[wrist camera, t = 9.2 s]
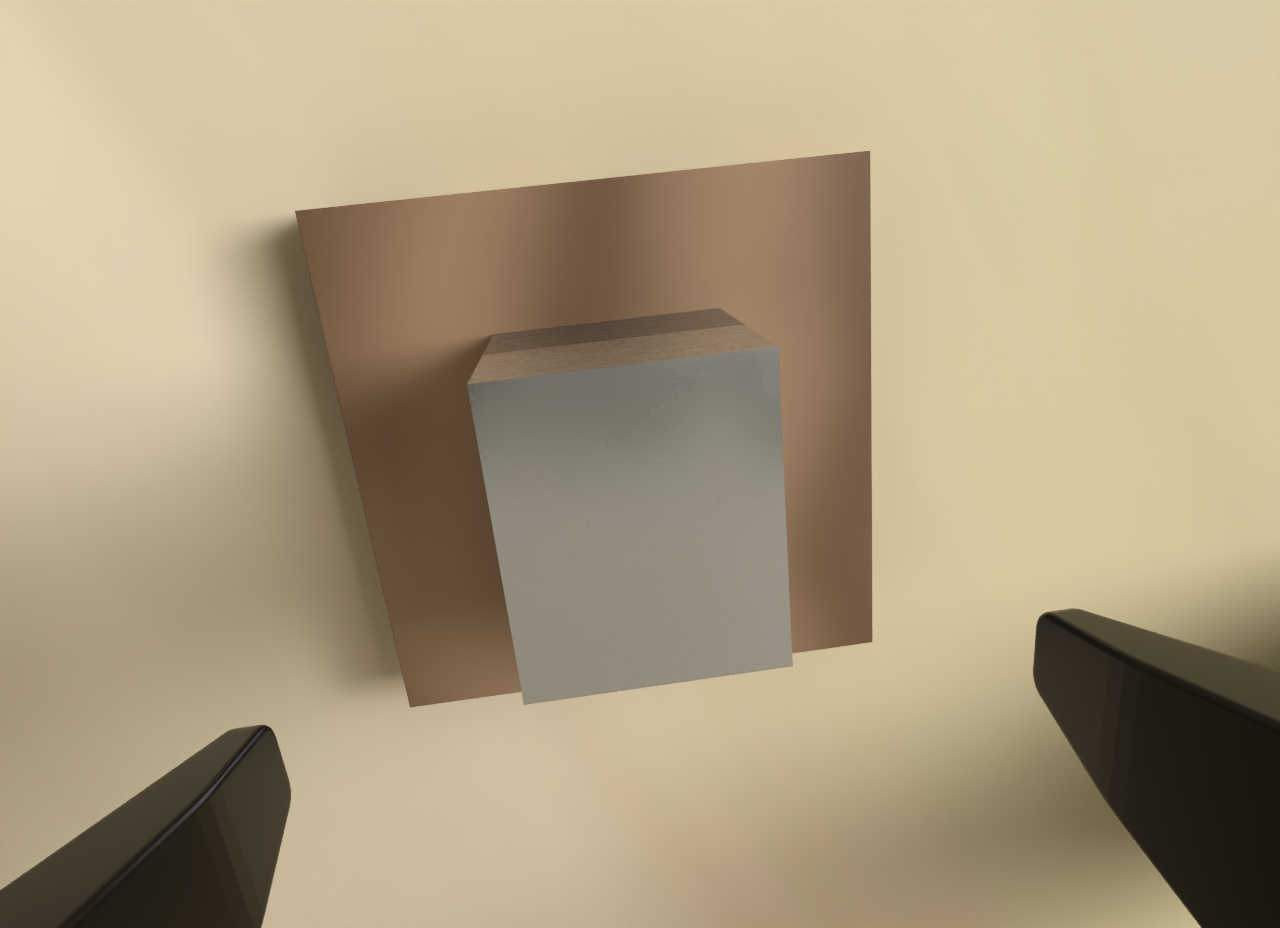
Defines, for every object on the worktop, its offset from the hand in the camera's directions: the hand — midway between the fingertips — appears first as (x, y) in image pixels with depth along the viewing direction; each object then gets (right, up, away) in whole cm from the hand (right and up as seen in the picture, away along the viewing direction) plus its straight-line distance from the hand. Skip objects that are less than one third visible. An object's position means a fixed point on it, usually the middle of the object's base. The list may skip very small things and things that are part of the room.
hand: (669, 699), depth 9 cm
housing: (-1, +3, +9) cm, 10 cm away
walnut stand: (-1, +4, +11) cm, 12 cm away
